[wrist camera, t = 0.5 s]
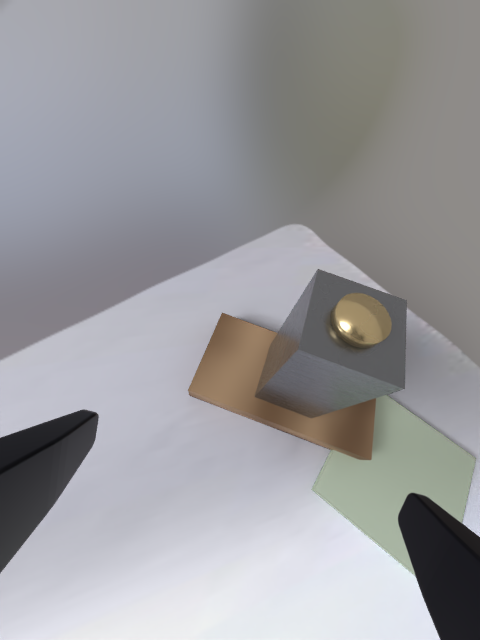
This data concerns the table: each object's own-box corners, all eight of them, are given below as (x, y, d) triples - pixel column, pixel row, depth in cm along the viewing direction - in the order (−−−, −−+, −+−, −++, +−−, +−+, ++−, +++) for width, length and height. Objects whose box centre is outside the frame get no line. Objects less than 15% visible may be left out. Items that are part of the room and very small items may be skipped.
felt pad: (471, 458, 21) (476, 458, 21) (439, 596, 17) (445, 599, 17) (364, 382, 23) (367, 381, 23) (311, 489, 19) (313, 490, 18)
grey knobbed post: (321, 363, 21) (415, 293, 12) (311, 418, 19) (415, 385, 10) (270, 344, 21) (323, 261, 12) (254, 396, 19) (302, 344, 10)
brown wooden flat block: (365, 376, 23) (378, 370, 22) (356, 459, 20) (371, 460, 18) (220, 323, 24) (222, 312, 22) (189, 395, 21) (188, 390, 19)
